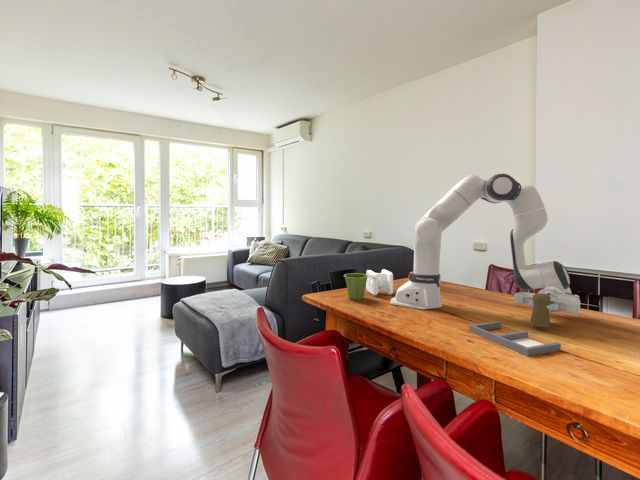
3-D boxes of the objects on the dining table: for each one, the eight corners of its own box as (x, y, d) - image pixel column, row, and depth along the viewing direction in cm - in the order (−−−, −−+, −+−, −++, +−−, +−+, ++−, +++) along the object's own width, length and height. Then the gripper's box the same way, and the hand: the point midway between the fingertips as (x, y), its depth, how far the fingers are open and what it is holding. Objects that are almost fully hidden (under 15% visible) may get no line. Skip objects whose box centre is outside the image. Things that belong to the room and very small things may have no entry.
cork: (526, 322, 123) (528, 291, 123) (543, 322, 123) (544, 292, 123) (536, 326, 117) (538, 295, 117) (554, 327, 117) (556, 295, 117)
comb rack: (498, 326, 123) (498, 321, 123) (560, 350, 101) (560, 343, 101) (468, 330, 118) (469, 325, 118) (527, 356, 97) (527, 349, 97)
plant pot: (339, 297, 167) (339, 274, 166) (360, 294, 172) (360, 272, 171) (351, 302, 156) (351, 278, 156) (373, 299, 161) (373, 276, 161)
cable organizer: (393, 296, 168) (394, 273, 167) (373, 297, 167) (373, 273, 166) (384, 290, 183) (384, 268, 182) (364, 290, 181) (365, 269, 180)
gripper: (520, 286, 136) (508, 291, 127) (584, 296, 121) (576, 303, 112) (519, 302, 137) (507, 308, 127) (583, 313, 122) (574, 321, 112)
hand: (540, 306), depth 119 cm, fingers closed on cork, 4 cm apart
